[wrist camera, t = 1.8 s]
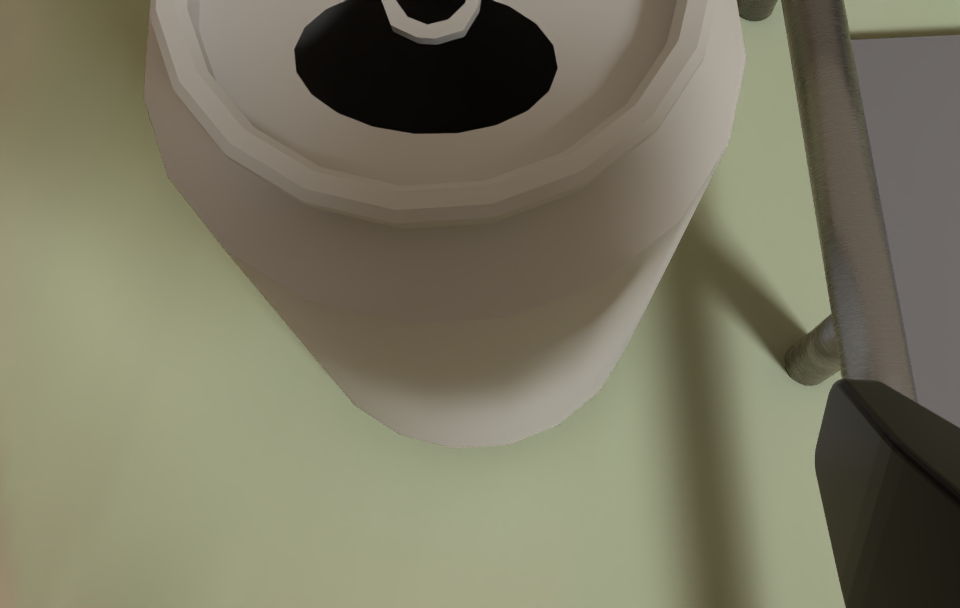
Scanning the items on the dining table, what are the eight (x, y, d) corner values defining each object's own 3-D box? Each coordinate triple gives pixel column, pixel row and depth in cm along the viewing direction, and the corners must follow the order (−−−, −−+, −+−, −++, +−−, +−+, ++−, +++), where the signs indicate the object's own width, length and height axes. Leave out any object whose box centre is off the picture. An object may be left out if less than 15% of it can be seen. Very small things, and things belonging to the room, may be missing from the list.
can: (288, 438, 20) (-1, 239, 9) (338, 138, 22) (160, -335, 11) (624, 471, 20) (789, 308, 8) (641, 162, 22) (788, -305, 10)
